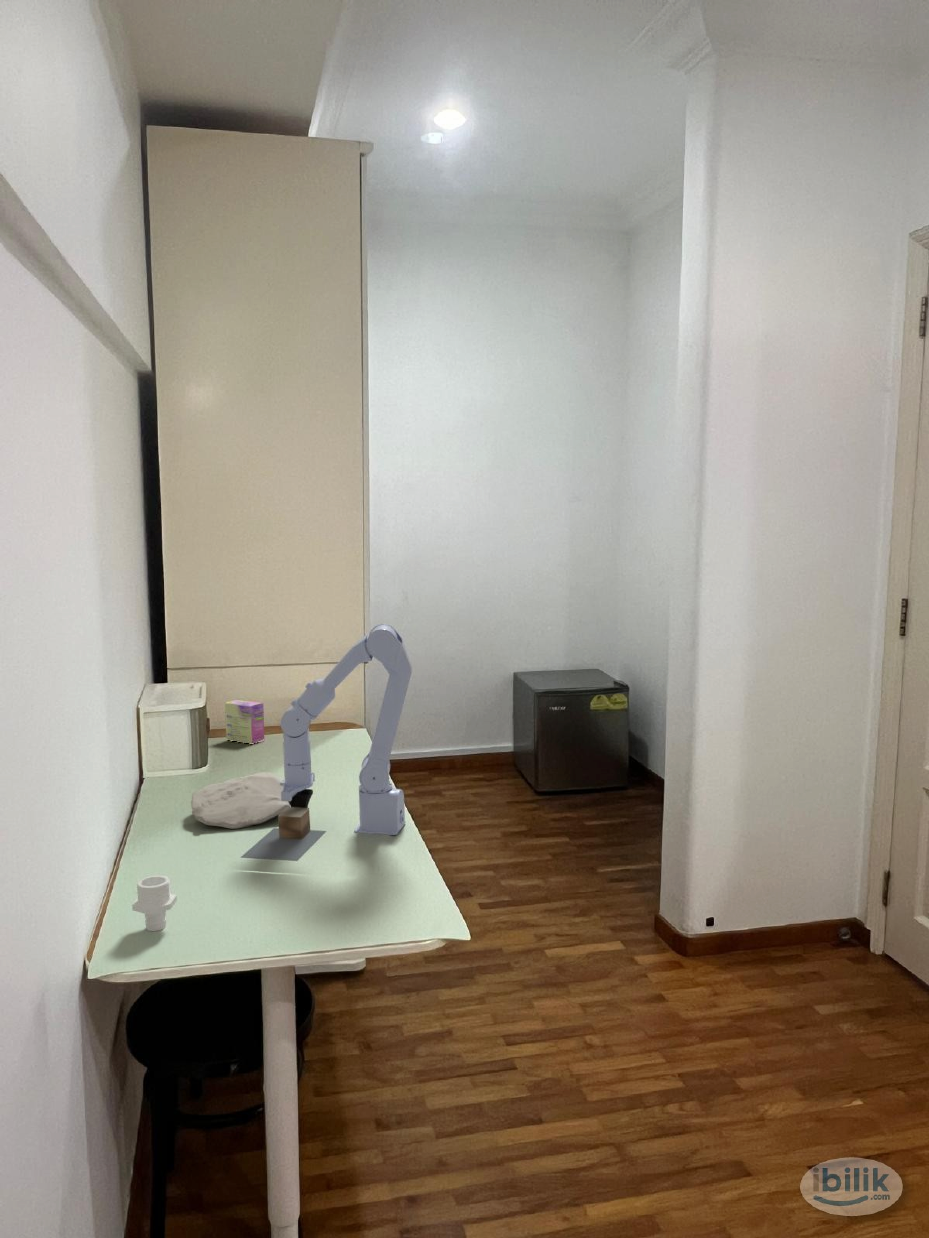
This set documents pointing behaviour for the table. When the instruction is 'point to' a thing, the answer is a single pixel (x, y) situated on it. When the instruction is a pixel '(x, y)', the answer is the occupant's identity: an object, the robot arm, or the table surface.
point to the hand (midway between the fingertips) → (299, 823)
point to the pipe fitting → (154, 901)
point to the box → (244, 721)
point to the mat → (283, 846)
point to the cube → (294, 822)
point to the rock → (239, 801)
